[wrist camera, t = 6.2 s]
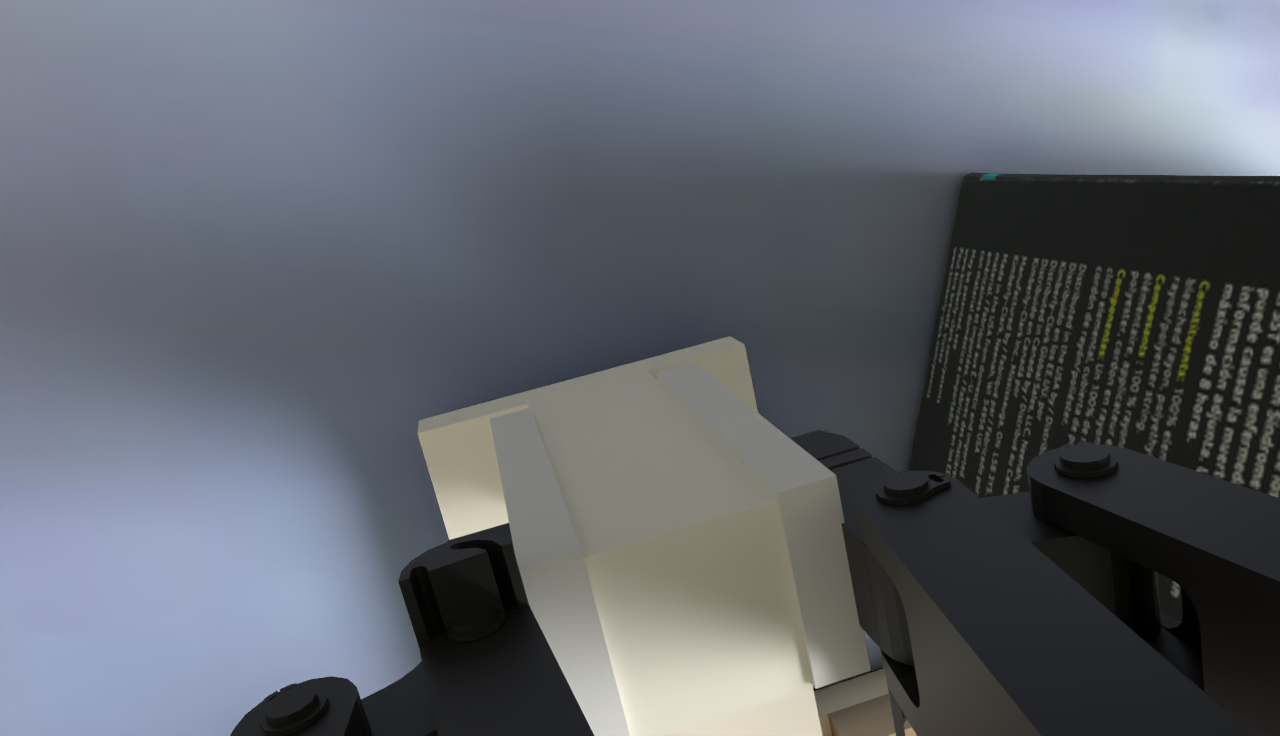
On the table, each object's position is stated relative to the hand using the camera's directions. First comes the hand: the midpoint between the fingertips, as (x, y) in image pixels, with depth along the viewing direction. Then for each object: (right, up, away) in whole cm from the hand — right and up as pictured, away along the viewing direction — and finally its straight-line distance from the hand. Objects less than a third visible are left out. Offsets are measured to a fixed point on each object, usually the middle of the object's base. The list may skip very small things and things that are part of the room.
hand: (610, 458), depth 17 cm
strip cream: (+1, -6, +4) cm, 7 cm away
